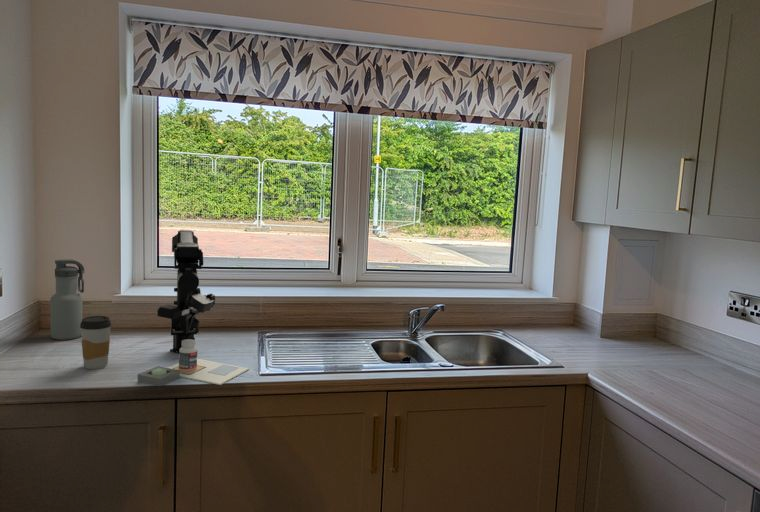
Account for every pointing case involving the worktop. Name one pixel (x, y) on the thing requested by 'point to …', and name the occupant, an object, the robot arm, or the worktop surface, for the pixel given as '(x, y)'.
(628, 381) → the worktop surface
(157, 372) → the button
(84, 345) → the coffee cup
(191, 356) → the pill bottle
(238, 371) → the picture board
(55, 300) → the water bottle
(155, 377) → the button housing
